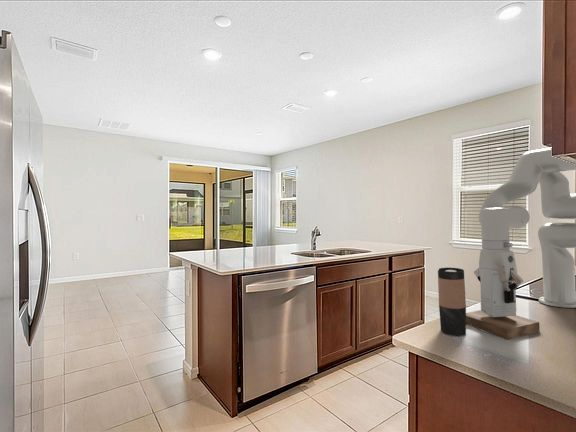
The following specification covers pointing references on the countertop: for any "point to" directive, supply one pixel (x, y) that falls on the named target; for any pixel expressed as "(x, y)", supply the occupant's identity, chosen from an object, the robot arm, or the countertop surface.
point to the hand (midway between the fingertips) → (497, 299)
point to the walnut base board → (502, 324)
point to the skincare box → (495, 295)
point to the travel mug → (452, 301)
